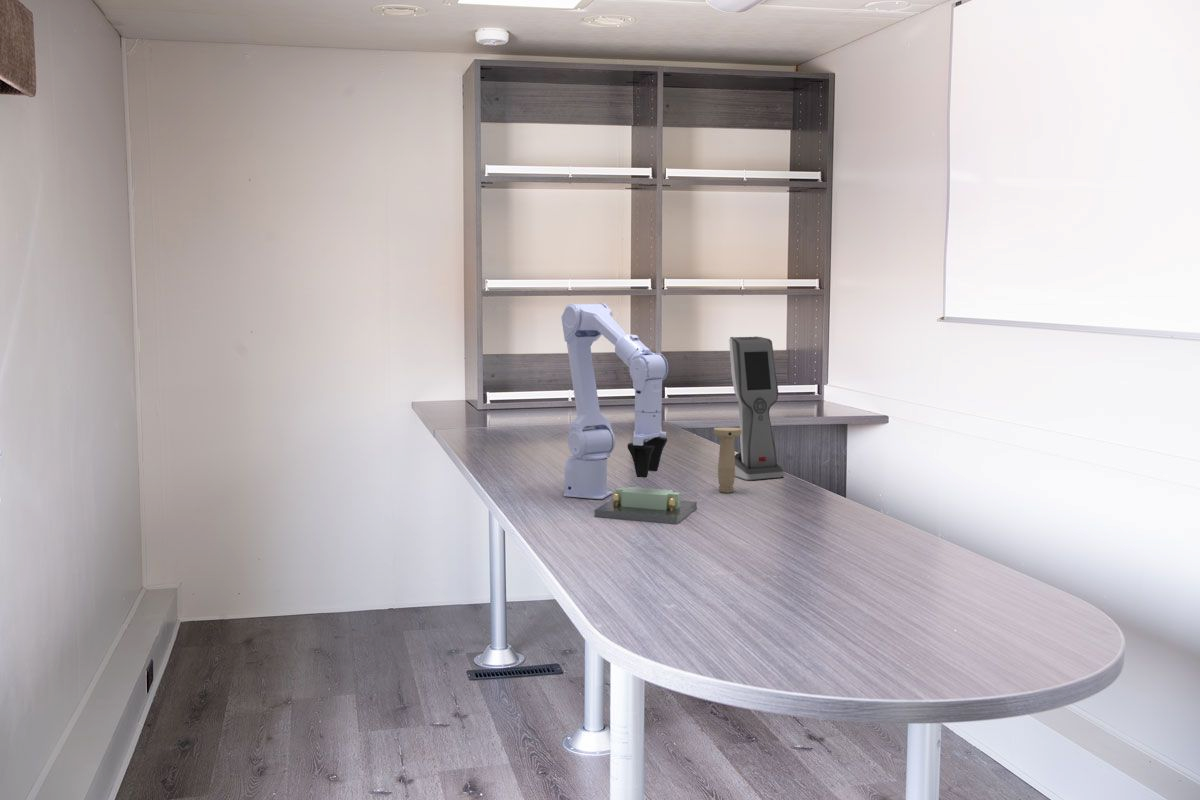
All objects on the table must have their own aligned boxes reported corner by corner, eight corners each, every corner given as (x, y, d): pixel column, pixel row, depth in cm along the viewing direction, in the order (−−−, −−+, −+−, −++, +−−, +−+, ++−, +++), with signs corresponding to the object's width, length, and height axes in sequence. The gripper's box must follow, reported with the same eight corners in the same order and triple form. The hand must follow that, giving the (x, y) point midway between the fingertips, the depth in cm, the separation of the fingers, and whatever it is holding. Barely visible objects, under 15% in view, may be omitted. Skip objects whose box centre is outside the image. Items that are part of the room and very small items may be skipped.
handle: (741, 493, 256) (743, 430, 255) (714, 494, 256) (716, 430, 254) (736, 489, 261) (738, 427, 259) (710, 490, 260) (711, 427, 259)
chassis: (594, 516, 231) (594, 498, 231) (618, 501, 246) (618, 484, 246) (677, 524, 225) (677, 505, 225) (696, 508, 240) (696, 490, 240)
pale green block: (612, 505, 235) (612, 490, 235) (620, 500, 241) (620, 486, 240) (675, 511, 231) (675, 496, 230) (682, 505, 236) (682, 491, 236)
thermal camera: (757, 469, 288) (761, 336, 284) (786, 477, 277) (791, 339, 273) (720, 472, 283) (723, 337, 279) (747, 481, 272) (751, 340, 267)
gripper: (656, 416, 225) (655, 481, 227) (675, 408, 239) (674, 469, 240) (623, 414, 227) (623, 478, 229) (644, 406, 241) (643, 467, 243)
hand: (647, 474), depth 235 cm, fingers open, 7 cm apart
